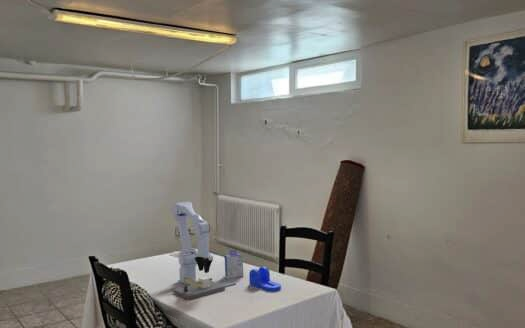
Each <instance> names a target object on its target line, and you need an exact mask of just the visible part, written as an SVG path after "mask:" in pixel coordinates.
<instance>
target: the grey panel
mask: <svg viewBox="0 0 525 328" xmlns="http://www.w3.org/2000/svg"><path fill="white" fill-rule="evenodd" d="M215 282H216V281H212V280H211V281H210V285H211V287H208V288H204V289H202V288H200V287H197V286H194V285H192V284H188V291H184V286H181V287H177V288H175V289H173V294H175V295H176V296H178V297H181V298H182V299H185V300H187V301H189V300H190V301H191V300H193V299H194V300H195V299H197V298H202V297H204V296H208V295H212V294H215V293H219V291H220V292H222V290H223V291H225V290H226V287H225V286H223V285H221V284H218V283H215Z"/></svg>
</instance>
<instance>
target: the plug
mask: <svg viewBox="0 0 525 328" xmlns="http://www.w3.org/2000/svg"><path fill="white" fill-rule="evenodd" d="M198 280H199V282H200V283H203V287H202V289H204V288H208V287H211V285H210V281H212V280H213V278H212V277H211V278H210V277H208V276H201V277H198Z"/></svg>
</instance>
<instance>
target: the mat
mask: <svg viewBox="0 0 525 328" xmlns="http://www.w3.org/2000/svg"><path fill="white" fill-rule="evenodd" d="M214 282H215V283H218V284H221V285H223V286H225V288H228V287H231V286H235V285H236V282H233V281H230V280H227V279H223V280H219V281H214Z"/></svg>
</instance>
